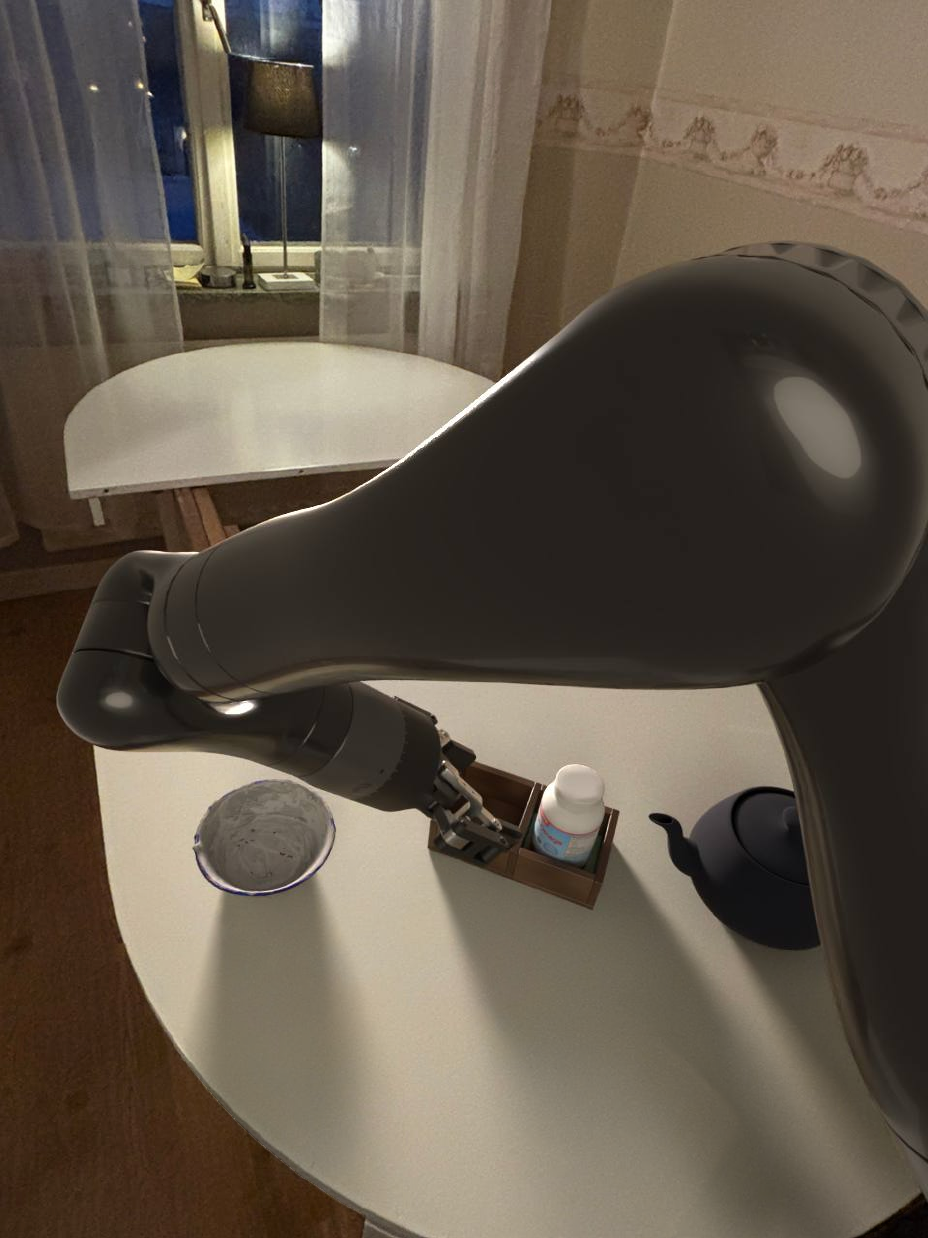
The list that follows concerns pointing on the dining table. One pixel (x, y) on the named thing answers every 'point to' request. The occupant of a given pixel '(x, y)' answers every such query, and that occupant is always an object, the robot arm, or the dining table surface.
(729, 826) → the teapot
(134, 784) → the dining table surface
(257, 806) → the bowl
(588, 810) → the pill bottle
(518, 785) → the wooden compartment box
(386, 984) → the dining table surface
